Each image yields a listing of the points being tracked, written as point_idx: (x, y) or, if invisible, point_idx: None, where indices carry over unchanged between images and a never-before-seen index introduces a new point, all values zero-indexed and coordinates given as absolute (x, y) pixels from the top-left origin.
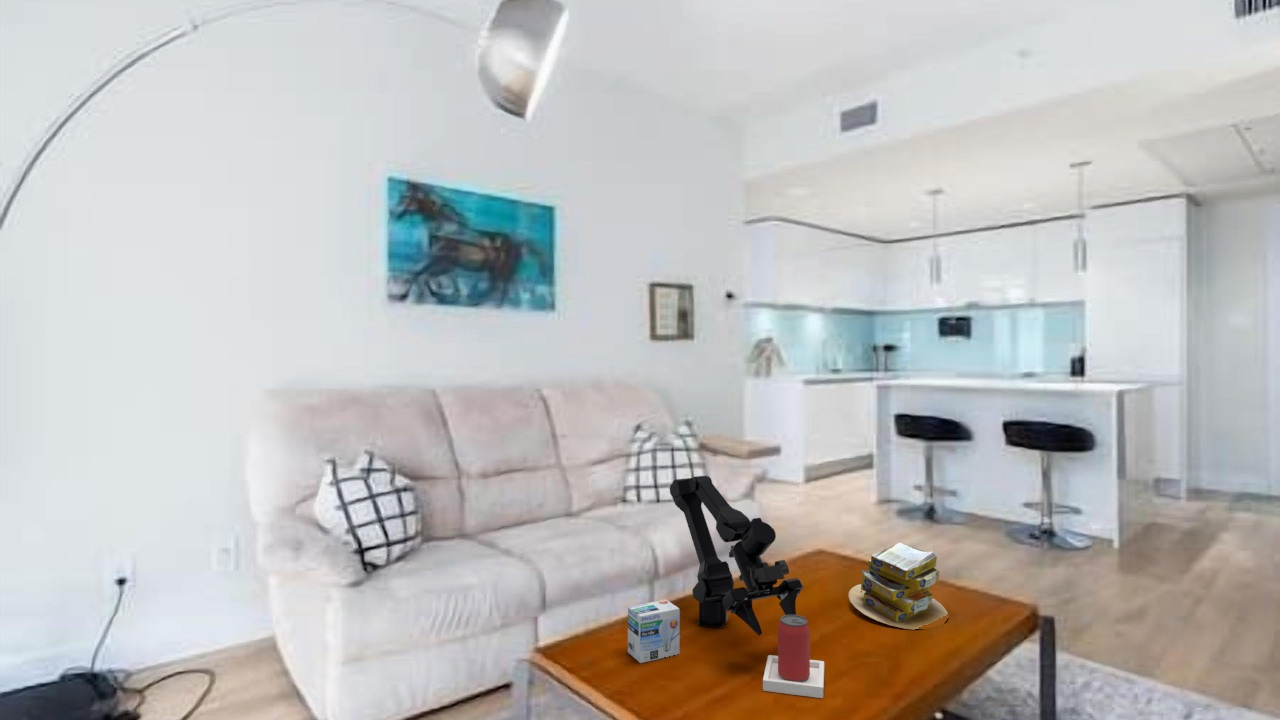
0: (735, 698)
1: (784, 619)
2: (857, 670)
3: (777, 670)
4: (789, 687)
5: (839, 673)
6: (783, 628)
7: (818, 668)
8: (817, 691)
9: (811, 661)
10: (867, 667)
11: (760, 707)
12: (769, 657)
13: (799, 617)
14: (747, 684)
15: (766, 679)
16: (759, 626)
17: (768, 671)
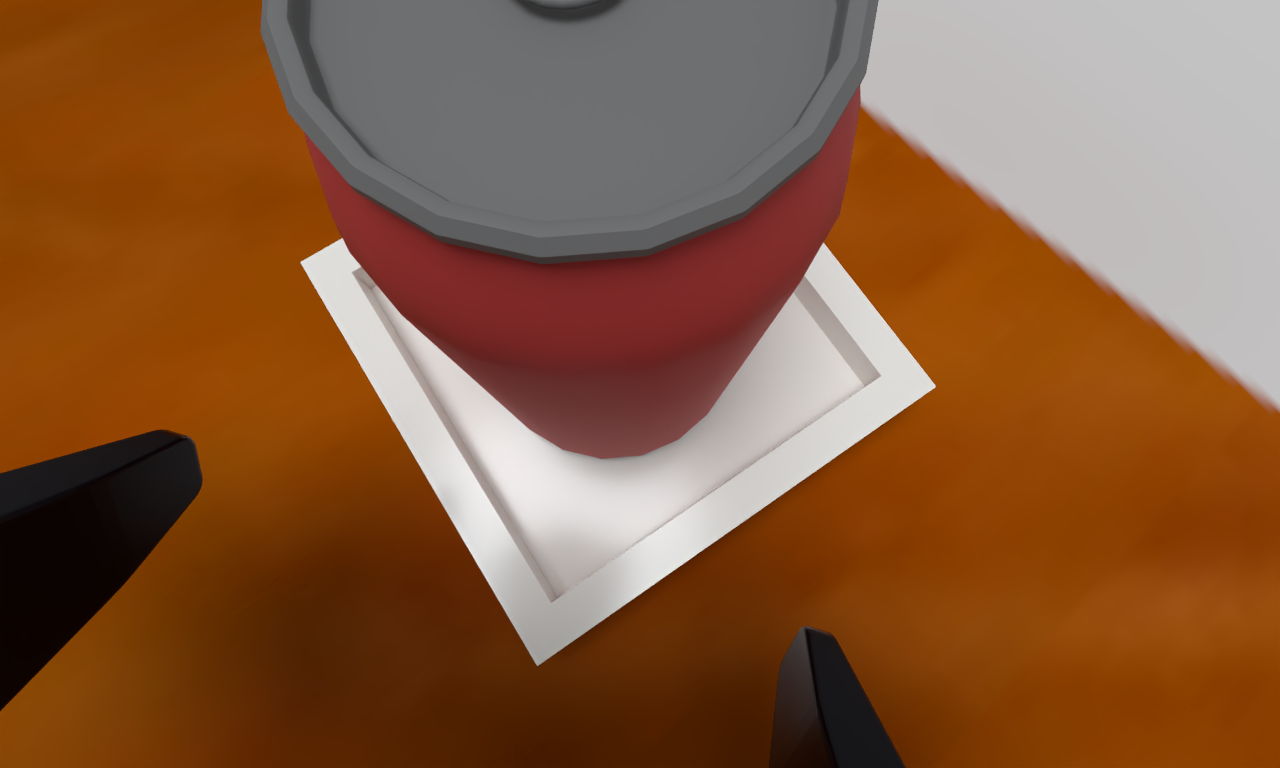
0: (1130, 459)
1: (663, 162)
2: (168, 158)
3: (639, 477)
4: None
5: (293, 210)
6: (855, 99)
7: (377, 291)
8: None
9: (373, 326)
10: (79, 138)
11: (1065, 278)
12: (572, 621)
13: (309, 15)
14: (922, 538)
15: (907, 372)
16: (834, 717)
17: (792, 448)
